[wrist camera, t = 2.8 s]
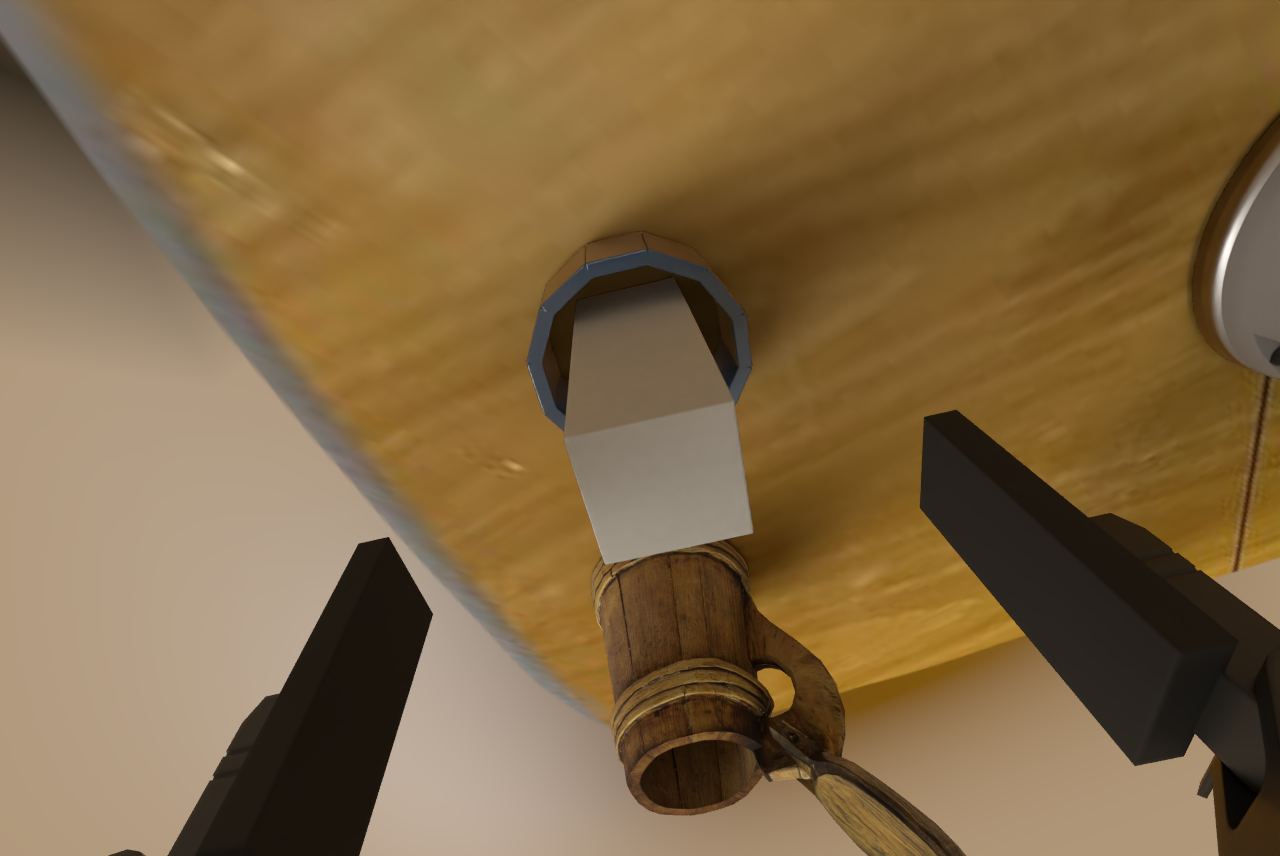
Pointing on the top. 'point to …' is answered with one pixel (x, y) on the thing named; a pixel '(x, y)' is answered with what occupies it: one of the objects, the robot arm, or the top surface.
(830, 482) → the top surface
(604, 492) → the grey block
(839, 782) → the wooden mug
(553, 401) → the faceted metal ring
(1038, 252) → the top surface
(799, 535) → the top surface
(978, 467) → the robot arm
